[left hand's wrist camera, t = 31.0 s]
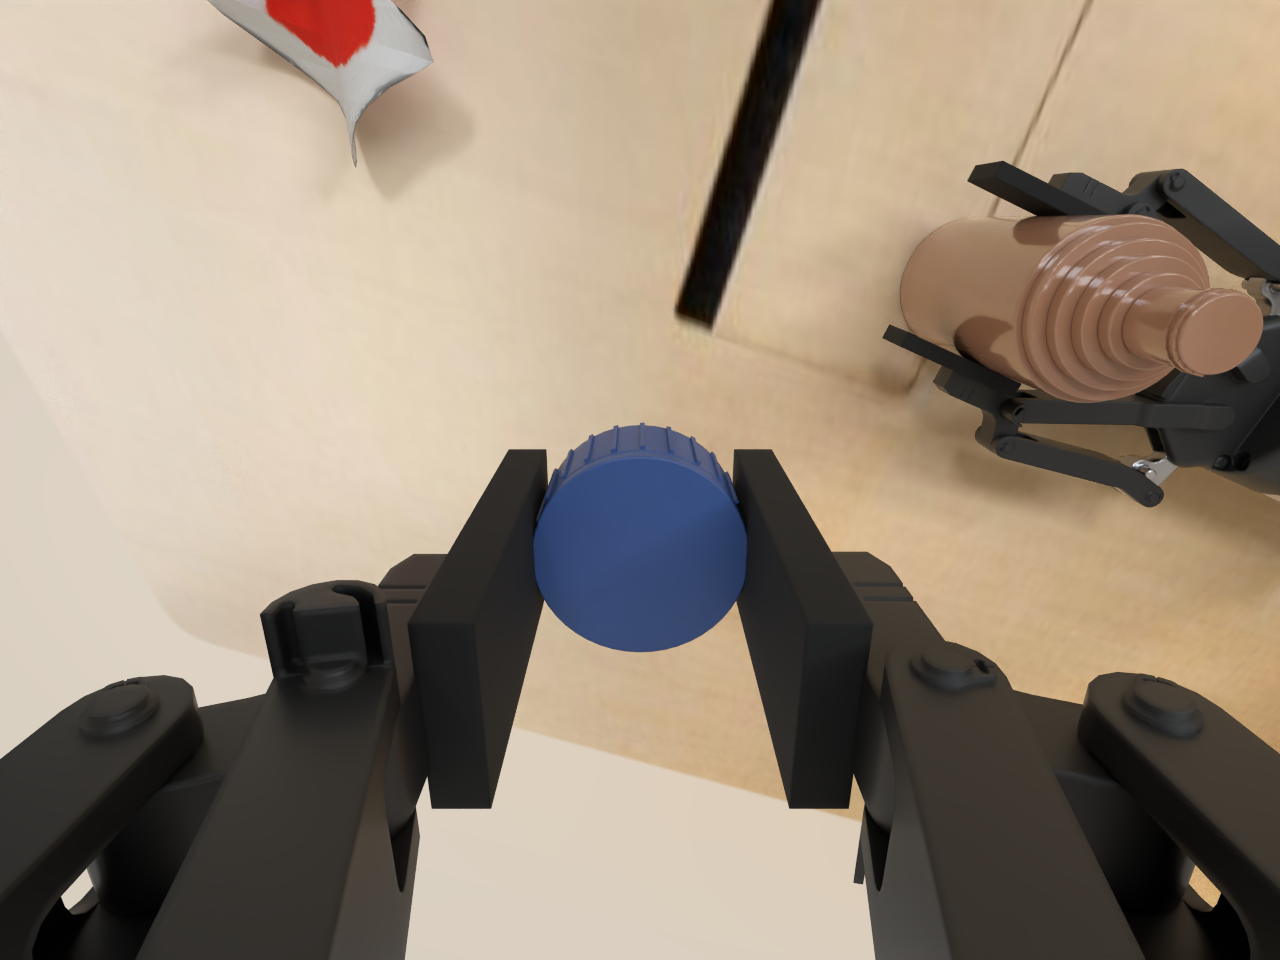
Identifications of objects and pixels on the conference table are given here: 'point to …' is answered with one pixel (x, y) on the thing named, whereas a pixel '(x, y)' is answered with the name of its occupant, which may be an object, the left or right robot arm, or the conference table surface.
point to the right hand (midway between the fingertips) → (938, 256)
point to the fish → (338, 44)
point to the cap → (640, 540)
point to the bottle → (1076, 303)
